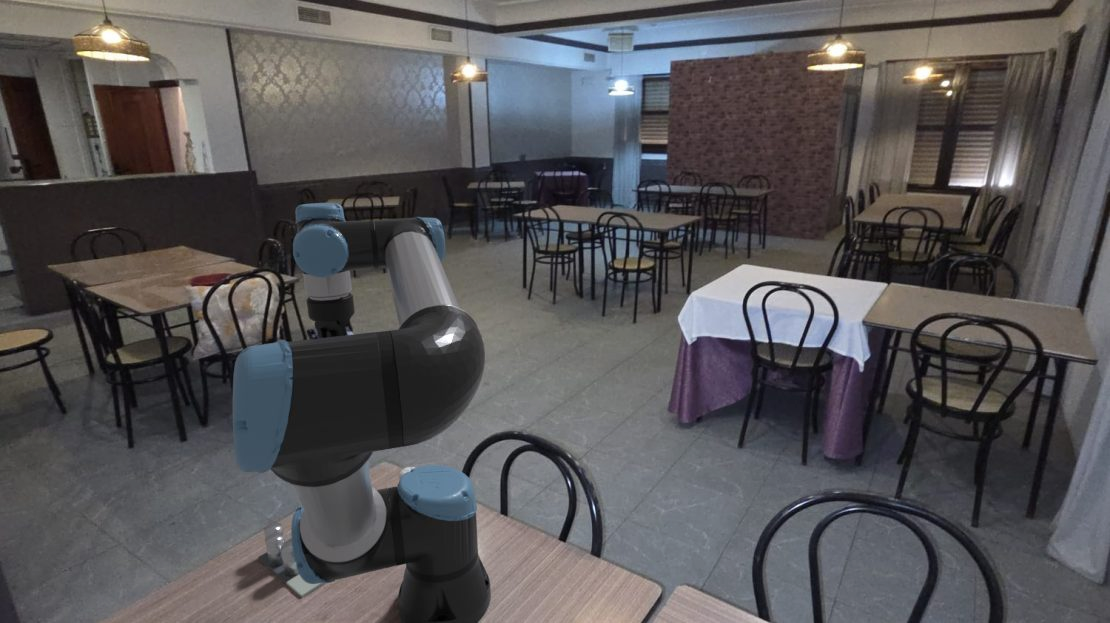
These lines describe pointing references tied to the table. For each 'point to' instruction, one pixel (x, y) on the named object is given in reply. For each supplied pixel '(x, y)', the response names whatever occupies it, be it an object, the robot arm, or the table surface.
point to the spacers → (279, 549)
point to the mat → (294, 581)
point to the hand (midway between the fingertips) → (344, 420)
